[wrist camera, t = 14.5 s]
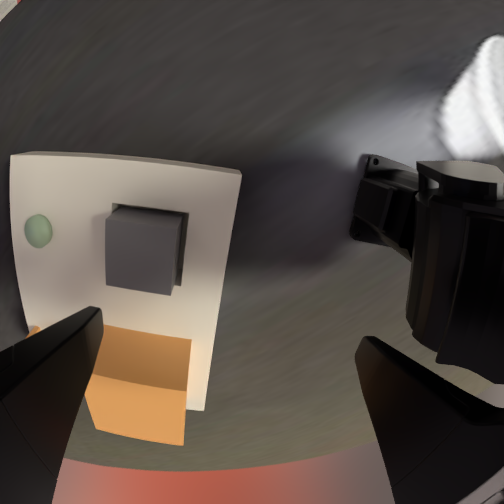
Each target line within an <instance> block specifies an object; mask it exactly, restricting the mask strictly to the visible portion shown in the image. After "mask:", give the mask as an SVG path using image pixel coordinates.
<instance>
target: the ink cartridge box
mask: <svg viewBox="0 0 504 504" xmlns="http://www.w3.org/2000/svg"><path fill="white" fill-rule="evenodd" d="M20 1H21V0H0V21H1V20H2V19H3V18H4V17H5V16H6V15H7V14H8V13H9V12H10V11H11V10H12V9H13V8H14V7H15V6H16V5H17V4H18V3H19V2H20Z"/></svg>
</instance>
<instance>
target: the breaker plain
mask: <svg viewBox="0 0 504 504" xmlns="http://www.w3.org/2000/svg"><path fill="white" fill-rule="evenodd" d="M183 218H184V214H178V213H171V212H164V211H156V210H149V209H141V208H133V207H125V206H122V207H121V208H120V209H118V210H117V211H116V212H114V213H113V214H112V215H110V216H109V217H108V218H106V219H105V276H106V285H108V286H113V287H119V288H124V289H130V290H136V291H142V292H149V293H155V294H161V295H168V296H171V294H172V290H173V287H174V283H175V280H176V277H177V273H178V264H179V253H180V244H181V235H182V226H183Z"/></svg>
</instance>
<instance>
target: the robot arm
mask: <svg viewBox="0 0 504 504" xmlns="http://www.w3.org/2000/svg"><path fill="white" fill-rule="evenodd" d="M374 159H376V164H374V163H373V160H374ZM416 165H417V169H414V168H412V167H409V166H406V165H404V164H401V163H398V162H396V161H393V160H390V159H387V158H384V157H382V156H379V155H373V154H372V155H370V156H369V157H368V160H367V165H366V169H365V173H364V178H363V179H362V180H361V182H360V186H359V190H358V194H357V198H356V202H355V206H354V209H353V213H354V217H353V220H352V224H351V228H350V231H349V234H350V236H351V238H353V239H354V240H358V241H363V242H368V243H374V244H379V245H384V246H389V247H392V248H393V249H394V250H396V251H397V252H398V253H400V254H401V255H402V256H404V257H405V258H406V259H408V260H409V261H410V262H412V264H411V273H410V281H409V289H408V296H407V303H406V319H407V321H408V323H409V325H410V327H411V328H412V330H413V332H412V335H413V337H414V338H415V339H416V340H418V341H419V342H420V343H421V344H422V345H424V346H425V347H427V348H429V349H430V350H432V351H434V352H437V353H438V354H437V357H436V360H435V361H436V363H438V364H446V365H455V366H459V367H462V368H465V369H469V370H471V371H473V372H475V373H477V374H479V375H480V376H482V377H484V378H485V379H487V380H489V381H491V382H492V383H494V384H504V174H503V173H502V172H501V171H500V170H499V169H498V168H497V167H496V166H493V165H488V164H483V163H477V162H471V161H416ZM356 231H358V234H357V235H354V233H355V232H356ZM103 334H104V325H103V315H102V310H101V308H99V307H94V306H88V307H86V308H84V309H82V310H80V311H78V312H76V313H74V314H72V315H70V316H68V317H66V318H64V319H62V320H60V321H58V322H56V323H55V324H53V325H51V326H49V327H47V328H45V329H43V330H41V331H39V332H37V333H35V334H33V335H31V336H29V337H28V338H26V339H24V340H22V341H20V342H18V343H16V344H14V346H10V347H9V348H7V349H5V350H3V351H1V352H0V504H52V499H53V495H54V491H55V487H56V483H57V478H58V474H59V470H60V467H61V464H62V460H63V457H64V453H65V450H66V447H67V443H68V440H69V437H70V434H71V431H72V428H73V425H74V422H75V419H76V416H77V413H78V410H79V407H80V405H81V402H82V399H83V397H84V394H85V391H86V389H87V386H88V383H89V381H90V378H91V376H92V373H93V369H94V366H95V362H96V359H97V355H98V351H99V348H100V344H101V341H102V338H103ZM355 363H356V367H357V371H358V375H359V380H360V384H361V389H362V393H363V396H364V399H365V402H366V405H367V408H368V411H369V414H370V418H371V421H372V424H373V427H374V430H375V433H376V437H377V440H378V443H379V446H380V450H381V453H382V457H383V460H384V463H385V467H386V470H387V474H388V477H389V481H390V485H391V487H392V488H391V489H392V493H393V497H394V501H395V504H504V408H499V407H495V406H493V405H491V404H489V403H486V402H485V401H483V400H481V399H479V398H477V397H475V396H473V395H471V394H469V393H467V392H466V391H464V390H462V389H460V388H458V387H457V386H455V385H453V384H452V383H450V382H448V381H447V380H444V379H443V378H442V377H440V376H438V375H437V374H435V373H434V372H432V371H430V370H429V369H427V368H425V367H424V366H422V365H420V364H419V363H417V362H416V361H414V360H412V359H411V358H409V357H407V356H406V355H404V354H403V353H401V352H399V351H398V350H396V349H394V348H393V347H391V346H390V345H388V344H386V343H385V342H383V341H381V340H380V339H378V338H377V337H375V336H365V337H363V338H362V340H361V342H360V345H359V347H358V349H357V351H356V353H355Z"/></svg>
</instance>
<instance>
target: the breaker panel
mask: <svg viewBox="0 0 504 504" xmlns="http://www.w3.org/2000/svg"><path fill="white" fill-rule="evenodd" d="M241 179H242V174H241V172H240V170H236V169H230V168H224V167H217V166H211V165H204V164H197V163H189V162H182V161H173V160H165V159H156V158H146V157H136V156H125V155H112V154H98V153H79V152H49V151H32V152H26V153H21V154H15V155H11V159H10V216H11V231H12V242H13V251H14V259H15V266H16V273H17V279H18V284H19V290H20V295H21V300H22V304H23V309H24V313H25V317H26V321H27V325H28V329H29V332H30V333H29V334H28V336H27V337H26V338H28V337H29V336H31V335H33V334H35V333H37V332H39V331H41V330H43V329H45V328H47V327H49V326H51V325H53V324H55V323H56V322H58V321H60V320H62V319H64V318H66V317H68V316H70V315H72V314H74V313H76V312H78V311H80V310H82V309H84V308H86V307H88V306H94V307H99V308H101V310H102V315H103V324H105V325H110V326H115V327H120V328H125V329H130V330H135V331H141V332H147V333H152V334H158V335H165V336H171V337H178V338H185V339H192V343H191V354H190V364H189V376H188V388H187V401H186V409H190V410H199V411H204V406H205V399H206V392H207V384H208V377H209V371H210V364H211V357H212V350H213V344H214V337H215V331H216V324H217V318H218V312H219V305H220V299H221V293H222V287H223V281H224V275H225V269H226V263H227V257H228V251H229V245H230V239H231V234H232V228H233V222H234V217H235V211H236V206H237V200H238V195H239V189H240V184H241ZM122 206H125V207H133V208H141V209H149V210H156V211H164V212H171V213H178V214H184V218H183V226H182V235H181V244H180V253H179V264H178V273H177V277H176V280H175V283H174V287H173V290H172V294H171V296H168V295H161V294H155V293H149V292H142V291H136V290H130V289H124V288H119V287H113V286H108V285H106V276H105V219H106V218H108V217H109V216H110V215H112V214H113V213H114V212H116V211H117V210H118V209H120V208H121V207H122ZM26 338H25V339H26Z"/></svg>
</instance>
